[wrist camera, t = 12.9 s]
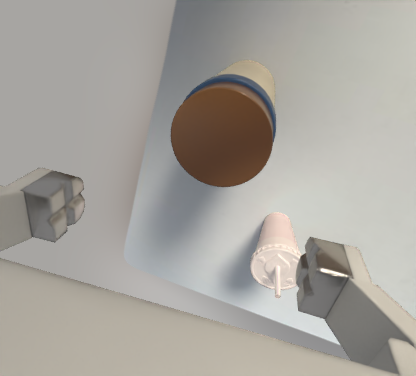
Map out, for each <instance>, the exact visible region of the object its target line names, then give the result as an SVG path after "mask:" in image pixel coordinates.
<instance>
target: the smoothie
mask: <svg viewBox="0 0 416 376" xmlns="http://www.w3.org/2000/svg"><path fill="white" fill-rule="evenodd" d="M301 256H302V255H301V253H300V252H299V249H298V245H297V242H296V239H295V236H294V232H293V229H292V226H291V222H290V220H289V218H288V217H287V216H286V215H285V214H282V213H271V214H269V215H268V216H267V217H266V218H265V220H264V224H263V227H262V231H261V234H260V238H259V241H258V244H257V248H256V251H255V252H254V253H253V255H252V257H251V260H250V271H251V274H252V276H253V278H254V279H255V280H256V281H257V282H258V283H259V284H261V285H263V286H265V287H267V288H270V289H274V290H275V297H276V298H280V297H281V291H280V290H286V289H290V288H293V287H295V286H297V284H296V269H297V265H298V262H299V259H300V257H301Z"/></svg>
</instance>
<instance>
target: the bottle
mask: <svg viewBox="0 0 416 376" xmlns="http://www.w3.org/2000/svg"><path fill="white" fill-rule="evenodd" d="M217 82H234V83H238V84H242V85H244V86H246V87H248V88H250V89H251V90H253V91H254V92H255V93H257V94H258V95H259V96H260V97H261V98H262V99H263V101H264V102H265V104H266V105H267V107H268V109H269V111H270V114H271V117H272V121H273V142H274V138H275V132H276V115H275V84H274V80H273V77H272V75H271V74H270V72H269V71H268V70H267V68H266V67H264V66H263V65H262V64H260V63H258V62H255V61H251V60H243V61H239V62H236V63H234V64H232V65H230V66H229V67H227V68H226V69H224V70H223V71H222V72H220V73H219V74H217V75H216V76H214V77H212V78H210V79H208V80H206V81H205V82H203V83H201V84H200V85H198V86H197V87H196V88H195V89H193V90H192V91H191V92H190V94H189V95H188V96H187V97H186V99H188V98H189V97H190V96H191V95H193V94H194V93H196V92H197V91H198V90H200V89H201V88H203V87H205V86H207V85H209V84H213V83H217ZM186 99H185V100H186ZM185 100H184V101H185Z"/></svg>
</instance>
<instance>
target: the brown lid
mask: <svg viewBox="0 0 416 376" xmlns="http://www.w3.org/2000/svg"><path fill="white" fill-rule="evenodd" d="M171 143H172V147H173V151H174V154H175V156H176V158H177V160H178V161H179V163H180V164H181V166H182V167H183V168H184V169H185V170H186V171H187V172H188V173H189V174H190V175H191V176H193V177H194V178H195V179H197V180H199V181H201V182H203V183H205V184H208V185H212V186H217V187H230V186H236V185H239V184H242V183H245V182H247V181H249V180H250V179H252V178H253V177H255V176H256V175H257V174H258V173H259V172H260V171H261V170H262V169H263V168H264V166H265V165H266V163H267V161H268V159H269V157H270V154H271V151H272V146H273V121H272V117H271V114H270V111H269V109H268V107H267V105H266V104H265V102H264V101H263V99H262V98H261V97H260V96H259V95H258V94H257V93H255V92H254V91H253V90H251V89H250V88H248V87H246V86H244V85H242V84H238V83H234V82H217V83H213V84H209V85H207V86H205V87H203V88H201V89H200V90H198V91H197V92H196V93H194V94H193V95H191V96H190V97H189V98H188V99H186V100H185V101H184V102H183V104H182V105H181V106H180V107H179V109H178V110H177V112H176V114H175V116H174V119H173V122H172V127H171Z"/></svg>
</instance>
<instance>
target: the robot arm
mask: <svg viewBox="0 0 416 376" xmlns="http://www.w3.org/2000/svg"><path fill="white" fill-rule="evenodd" d="M83 190H84V185H83V180H82V179H81V178H79V177H75V176H71V175H68V174H64V173H61V172H57V171H53V170H49V169H45V168H37V169H36V170H34V171H32V172H30V173H29V174H27V175H25V176H23V177H21V178H20V179H18V180H16V181H15V182H13V183H11V184H9V185H7V186H0V251H2V250H4V249H7V248H9V247H12V246H14V245H16V244H19V243H21V242H23V241H26V240H28V239H30V238H32V237H35V238H39V239H43V240H47V241H51V242H56V241H57V240H58V239H59V238H60V237H61V236H63V235H64V234H65V233H66V232H67V226H69V225H72V224H75V223H76V222H77V221H78V220H79V219H80V218H81V216H82V214H83V212H84V207H85V200H84V198H83V197H82V195H81V194H80V193H81V192H82V191H83ZM305 251H306V253H305V254H304V255H302V256H301V257H300V259H299V262H298V265H297V269H296V284H297V285H298V287H299V290H298V292H297V303H298V311H300V312H304V313H307V314H310V315H313V316H316V317H320V318H323V319H325V321H326V323H327V324H328V326H329V327H330V329H331V330H332V332H333V334H334V335H335V337H336V338H337V340H338V341H339V343H340V344H341V346H342V347H343V349H344V351H345V352H346V354H347V355H348V357H349V358H350V360H351V361H350V360H347V359H343V358H340V357H337V356H333V355H330V354H326V353H323V352H320V351H316V350H313V349H309V348H306V347H302V346H299V345H295V344H292V343H288V342H285V341H281V340H278V339H274V338H271V337H268V336H265V335H261V334H258V333H254V332H251V331H248V330H244V329H241V328H237V327H234V326H230V325H227V324H223V323H220V322H217V321H213V320H210V319H207V318H203V317H200V316H197V315H193V314H190V313H186V312H183V311H180V310H176V309H173V308H169V307H166V306H163V305H159V304H156V303H152V302H149V301H145V300H142V299H139V298H135V297H132V296H128V295H125V294H121V293H118V292H115V291H111V290H108V289H104V288H101V287H97V286H94V285H91V284H87V283H83V282H80V281H77V280H73V279H70V278H66V277H63V276H60V275H56V274H53V273H50V272H46V271H43V270H39V269H36V268H32V267H29V266H25V265H22V264H19V263H15V262H12V261H9V260H5V259H1V258H0V376H416V320H415V319H414V318H413V317H412V316H411V315H410V314H409V313H408V312H407V311H405V310H404V309H403V308H402V307H401V306H400V305H399V304H398V303H397V302H396V301H394V300H393V299H392V298H391V297H390V296H389V295H388V294H387V293H386V292H385V291H384V290H382V289H381V288H380V287H379V286H378V285H375V284H373V283H372V281H371V278H370V275H369V273H368V270H367V268H366V265H365V263H364V260H363V258H362V255H361V253H360V250H359V249H358V248H357V247H353V246H348V245H344V244H338V243H334V242H330V241H326V240H321V239H317V238H313V237H310V238H309V239H308V240H307V243H306V245H305Z"/></svg>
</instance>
